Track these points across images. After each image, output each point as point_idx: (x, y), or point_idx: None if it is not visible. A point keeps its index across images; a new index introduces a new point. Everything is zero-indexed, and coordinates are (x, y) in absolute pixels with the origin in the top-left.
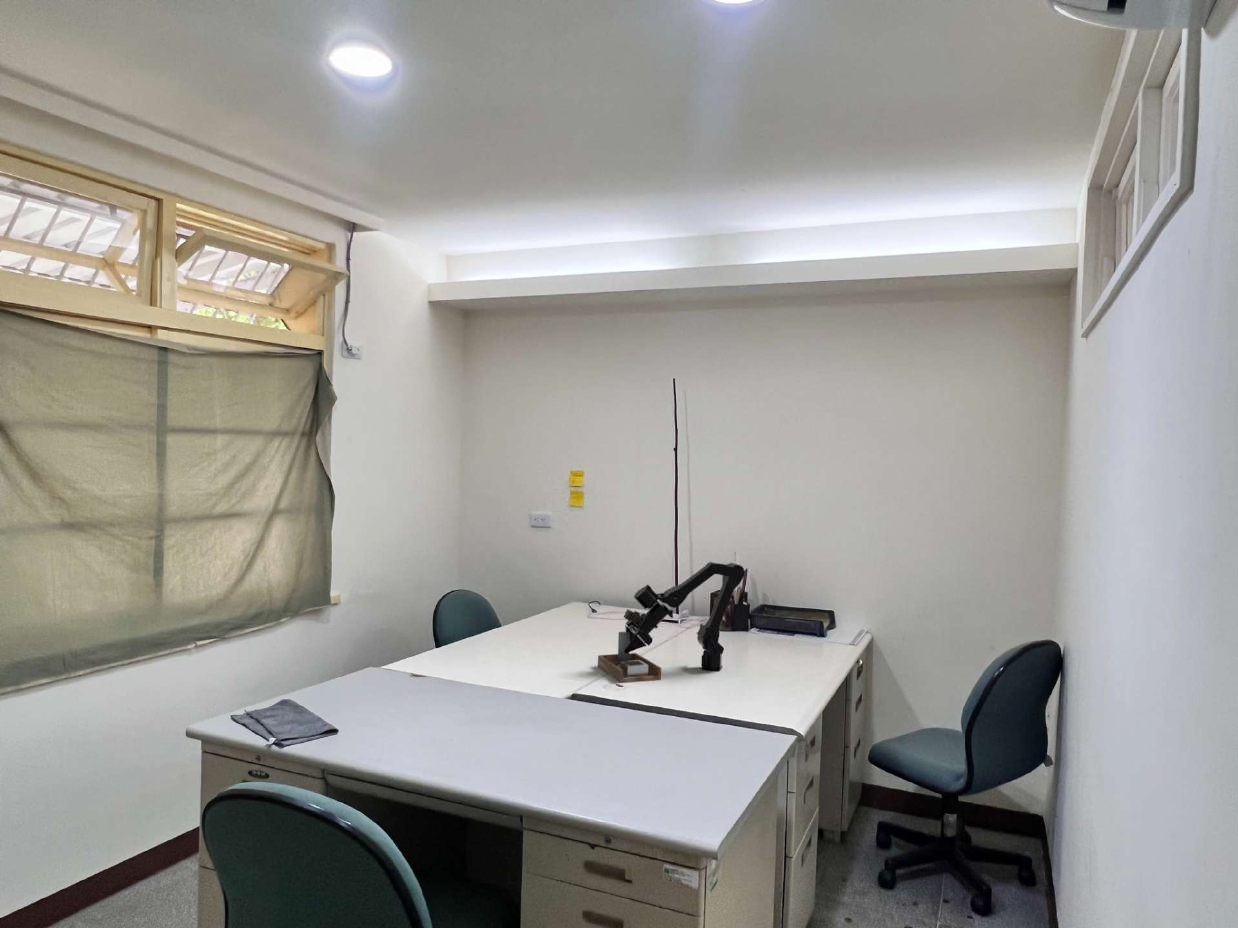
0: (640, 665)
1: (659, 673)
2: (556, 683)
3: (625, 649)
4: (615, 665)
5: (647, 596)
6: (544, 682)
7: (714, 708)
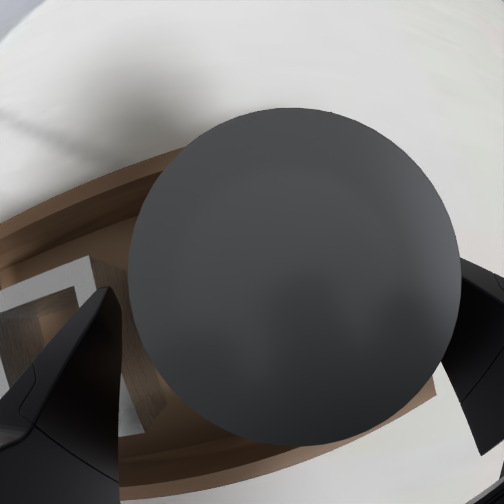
0: (1, 392)
1: None
2: (69, 40)
3: (86, 301)
4: (32, 222)
5: None
6: (91, 15)
7: None
